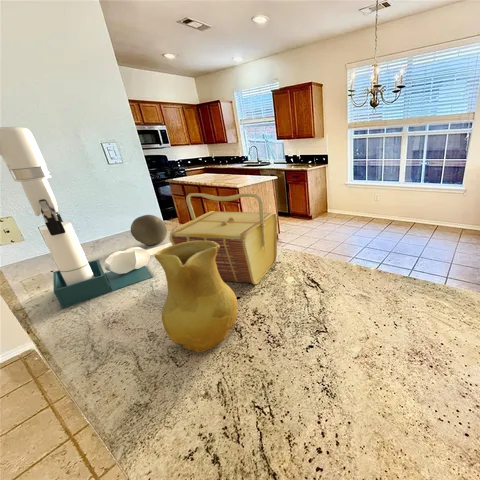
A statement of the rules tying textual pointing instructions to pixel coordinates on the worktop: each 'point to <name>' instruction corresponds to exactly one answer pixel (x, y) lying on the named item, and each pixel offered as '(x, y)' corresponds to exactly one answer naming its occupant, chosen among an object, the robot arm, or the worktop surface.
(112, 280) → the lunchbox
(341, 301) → the worktop surface
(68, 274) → the cylindrical container
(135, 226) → the cantaloupe
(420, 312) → the worktop surface
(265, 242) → the picnic basket
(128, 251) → the white long scooped piece
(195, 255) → the pitcher
